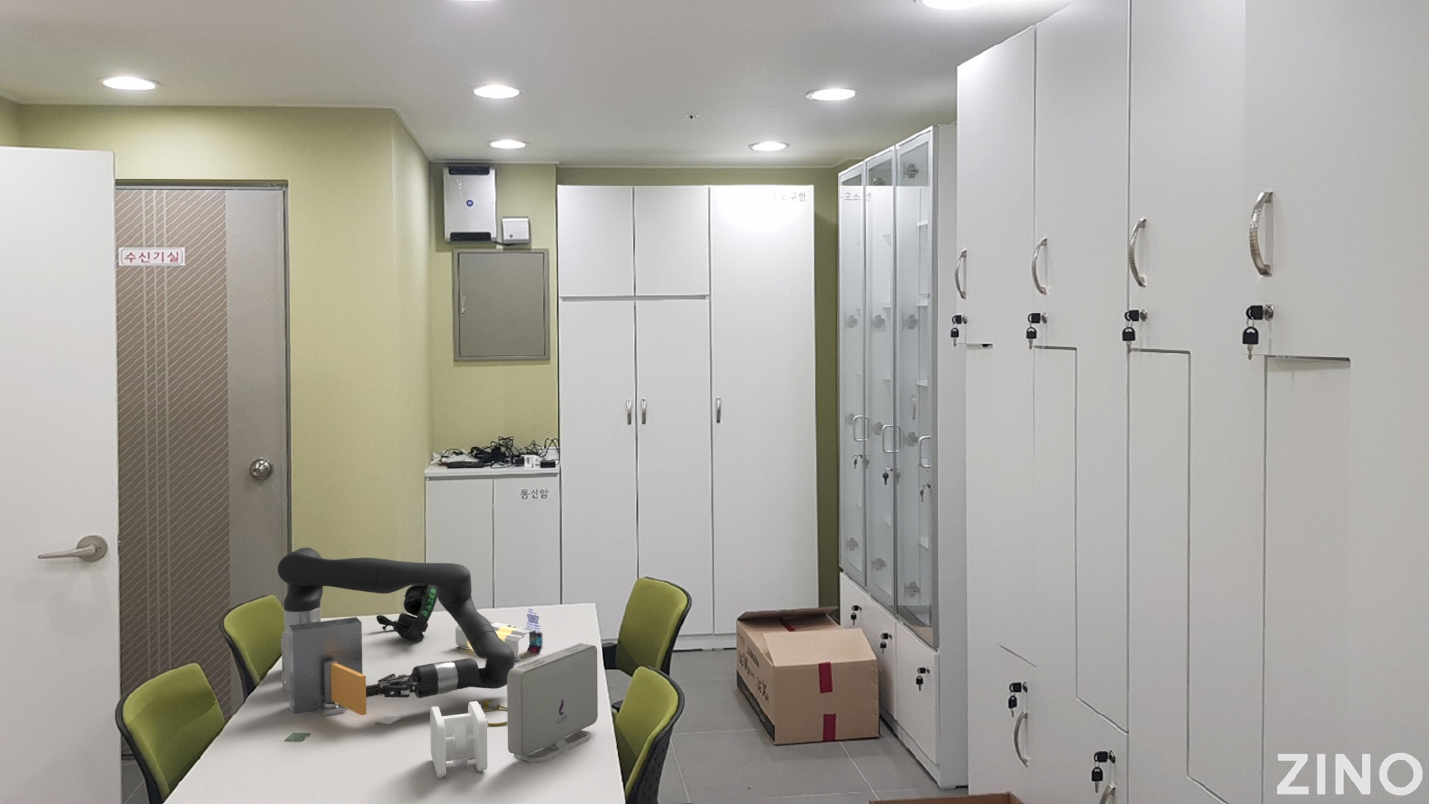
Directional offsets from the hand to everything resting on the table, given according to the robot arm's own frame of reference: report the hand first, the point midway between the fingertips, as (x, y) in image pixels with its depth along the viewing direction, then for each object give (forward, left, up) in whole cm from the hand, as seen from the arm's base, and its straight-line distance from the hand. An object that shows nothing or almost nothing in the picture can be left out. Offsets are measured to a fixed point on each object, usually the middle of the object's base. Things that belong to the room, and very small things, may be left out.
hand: (362, 692), depth 242 cm
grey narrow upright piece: (-27, +21, -8) cm, 35 cm away
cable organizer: (+34, -17, -8) cm, 38 cm away
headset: (-28, +69, -8) cm, 75 cm away
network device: (+49, -2, -8) cm, 49 cm away
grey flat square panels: (-10, +3, -7) cm, 13 cm away
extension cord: (+27, +13, -8) cm, 31 cm away
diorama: (+4, +64, -8) cm, 64 cm away
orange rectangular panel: (-6, +3, -5) cm, 8 cm away
